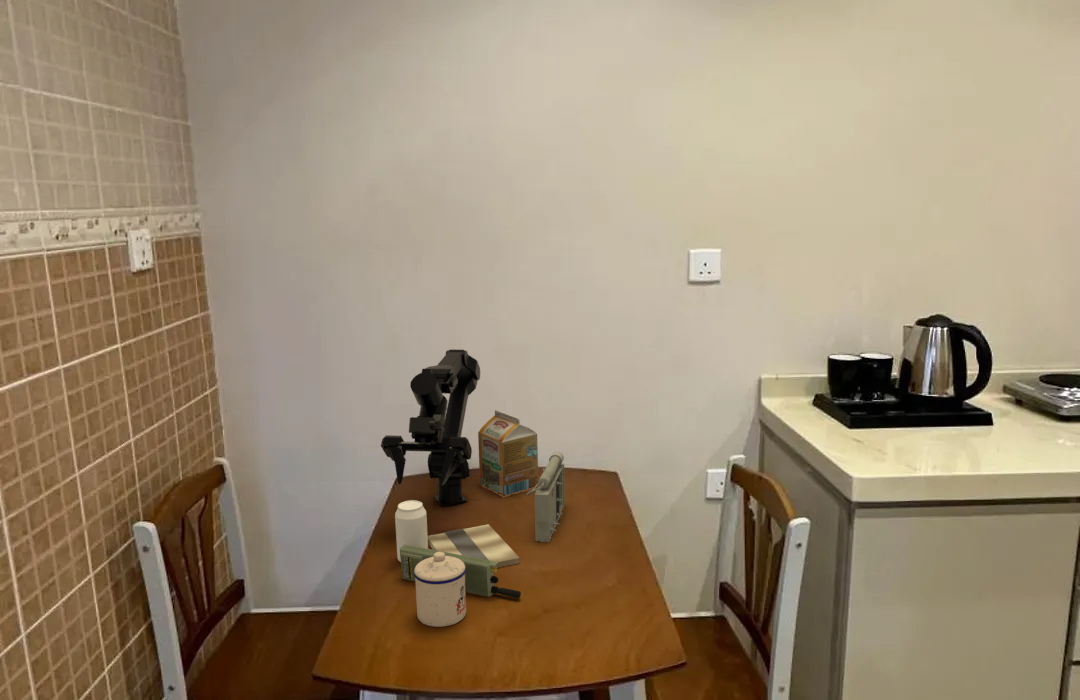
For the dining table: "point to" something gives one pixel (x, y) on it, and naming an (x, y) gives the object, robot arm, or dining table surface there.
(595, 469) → the dining table surface
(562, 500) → the geiger counter
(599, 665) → the dining table surface
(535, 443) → the milk carton
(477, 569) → the handheld radio
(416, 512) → the beverage can
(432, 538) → the subfloor board
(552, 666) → the dining table surface
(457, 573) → the teacup with lid
